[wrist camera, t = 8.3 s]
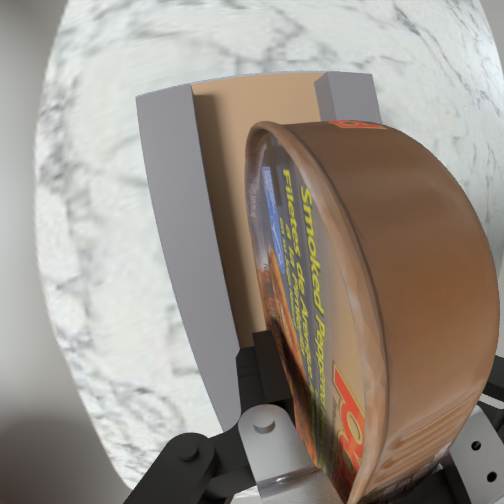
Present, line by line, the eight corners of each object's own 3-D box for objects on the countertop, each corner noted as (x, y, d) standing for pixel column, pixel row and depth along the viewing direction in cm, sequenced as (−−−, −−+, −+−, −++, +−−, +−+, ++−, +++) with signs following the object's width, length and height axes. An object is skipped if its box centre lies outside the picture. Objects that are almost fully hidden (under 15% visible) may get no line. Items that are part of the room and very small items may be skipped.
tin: (233, 144, 9) (254, 8, 1) (321, 133, 9) (550, 88, 1) (284, 432, 13) (310, 556, 5) (336, 419, 14) (380, 536, 6)
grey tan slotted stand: (140, 100, 14) (96, 64, 7) (334, 76, 14) (388, 38, 8) (217, 411, 21) (220, 473, 14) (352, 381, 21) (382, 434, 15)
